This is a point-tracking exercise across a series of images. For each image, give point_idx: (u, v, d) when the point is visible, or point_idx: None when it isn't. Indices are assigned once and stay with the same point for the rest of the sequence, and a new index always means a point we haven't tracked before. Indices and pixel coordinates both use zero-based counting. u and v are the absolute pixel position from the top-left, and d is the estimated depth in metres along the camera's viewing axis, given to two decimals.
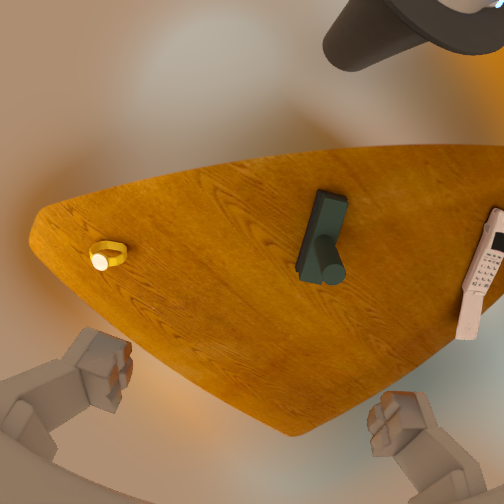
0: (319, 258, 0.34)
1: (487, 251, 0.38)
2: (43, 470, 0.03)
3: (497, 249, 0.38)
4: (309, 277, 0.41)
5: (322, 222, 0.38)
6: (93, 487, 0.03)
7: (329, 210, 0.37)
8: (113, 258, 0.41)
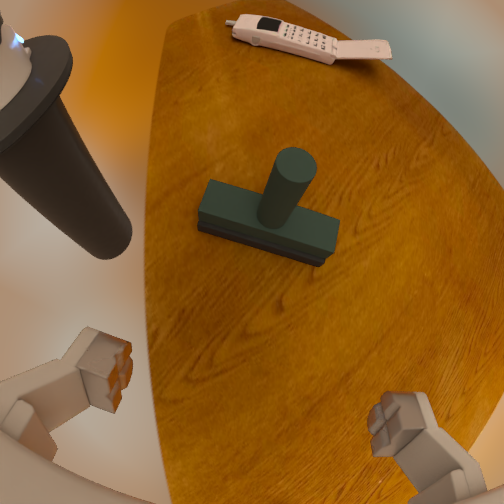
0: (279, 202, 0.21)
1: (281, 36, 0.35)
2: (43, 470, 0.03)
3: (277, 26, 0.35)
4: (329, 237, 0.26)
5: (237, 215, 0.25)
6: (93, 487, 0.03)
7: (218, 204, 0.25)
8: None
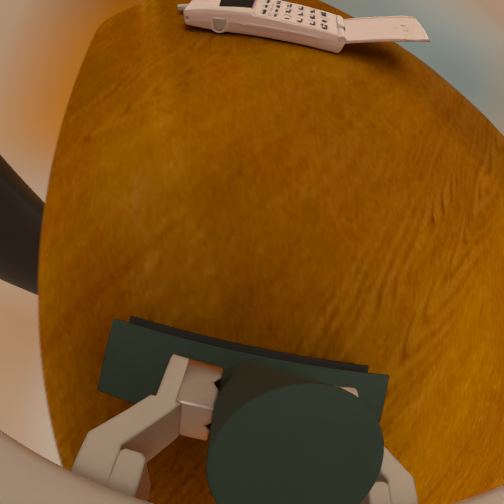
0: None
1: (258, 13, 0.21)
2: (43, 470, 0.03)
3: (252, 1, 0.22)
4: None
5: None
6: (93, 487, 0.03)
7: (134, 378, 0.11)
8: None
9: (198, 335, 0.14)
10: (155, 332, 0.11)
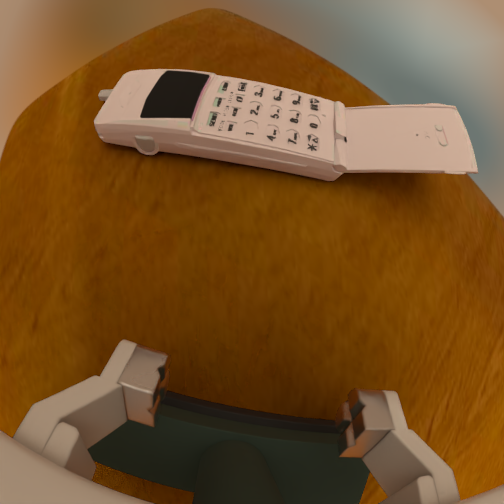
0: None
1: (204, 125, 0.16)
2: (43, 470, 0.03)
3: (195, 95, 0.16)
4: (352, 482, 0.10)
5: (159, 471, 0.09)
6: (93, 487, 0.03)
7: (119, 450, 0.09)
8: None
9: (183, 402, 0.12)
10: None
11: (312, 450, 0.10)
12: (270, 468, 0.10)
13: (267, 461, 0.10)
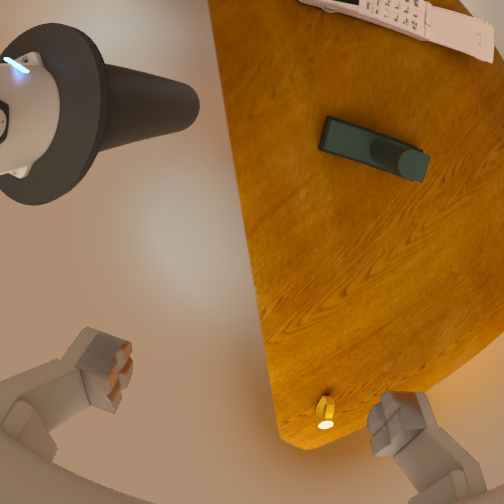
0: (393, 171, 0.25)
1: (363, 8, 0.23)
2: (43, 470, 0.03)
3: None
4: None
5: (354, 152, 0.29)
6: (93, 487, 0.03)
7: (340, 143, 0.29)
8: (326, 414, 0.46)
9: (358, 125, 0.30)
10: (348, 125, 0.28)
11: None
12: None
13: None
